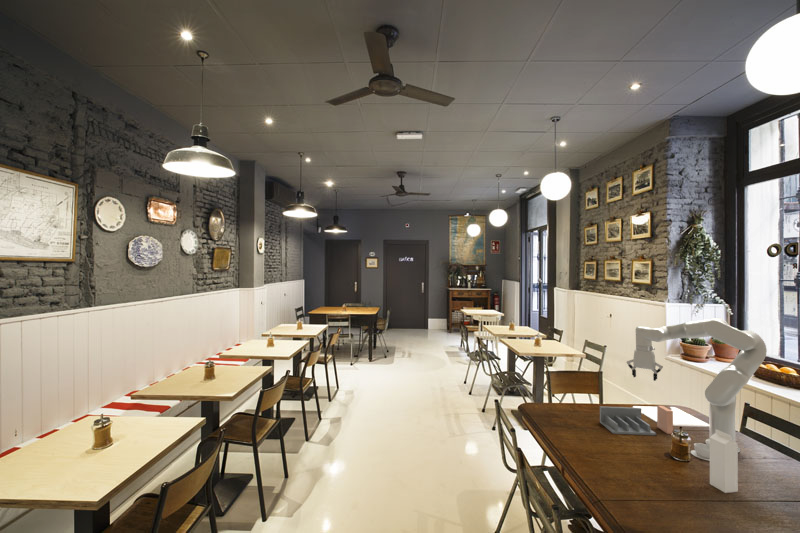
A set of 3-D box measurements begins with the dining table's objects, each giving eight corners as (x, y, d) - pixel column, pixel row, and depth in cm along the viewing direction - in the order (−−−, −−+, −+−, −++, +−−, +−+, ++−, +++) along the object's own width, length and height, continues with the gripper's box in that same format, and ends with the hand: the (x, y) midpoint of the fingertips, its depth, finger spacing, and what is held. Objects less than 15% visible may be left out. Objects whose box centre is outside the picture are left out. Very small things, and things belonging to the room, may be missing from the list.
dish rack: (656, 435, 186) (656, 417, 186) (612, 433, 188) (612, 416, 188) (639, 424, 200) (639, 407, 200) (599, 422, 202) (599, 406, 202)
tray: (631, 407, 227) (631, 405, 227) (675, 408, 226) (675, 406, 226) (661, 426, 199) (661, 423, 199) (712, 428, 198) (712, 425, 198)
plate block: (673, 433, 188) (672, 411, 188) (667, 433, 188) (667, 411, 189) (662, 427, 196) (662, 405, 196) (657, 427, 196) (657, 405, 197)
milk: (721, 483, 144) (721, 428, 144) (738, 492, 138) (738, 435, 138) (709, 484, 143) (709, 429, 143) (725, 493, 137) (725, 435, 137)
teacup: (723, 463, 159) (723, 452, 159) (698, 460, 161) (698, 450, 161) (709, 452, 169) (709, 442, 169) (685, 450, 171) (685, 440, 171)
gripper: (663, 349, 198) (664, 380, 198) (628, 345, 211) (628, 374, 210) (661, 351, 193) (662, 383, 192) (624, 347, 205) (625, 376, 205)
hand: (644, 378), depth 201 cm, fingers open, 9 cm apart
